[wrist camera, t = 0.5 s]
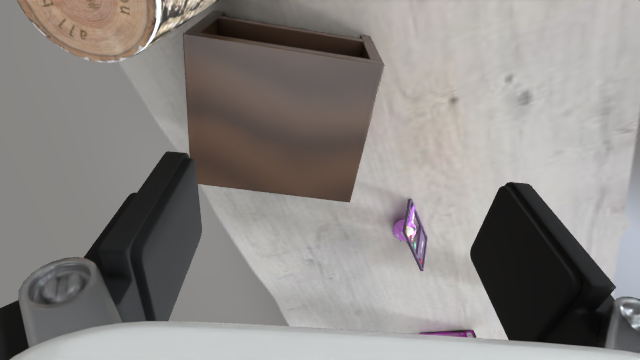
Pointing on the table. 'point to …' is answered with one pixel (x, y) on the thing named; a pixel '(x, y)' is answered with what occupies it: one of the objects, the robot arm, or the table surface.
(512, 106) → the table surface
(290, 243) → the table surface
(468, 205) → the table surface
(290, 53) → the walnut storage box
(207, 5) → the paper tube
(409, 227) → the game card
